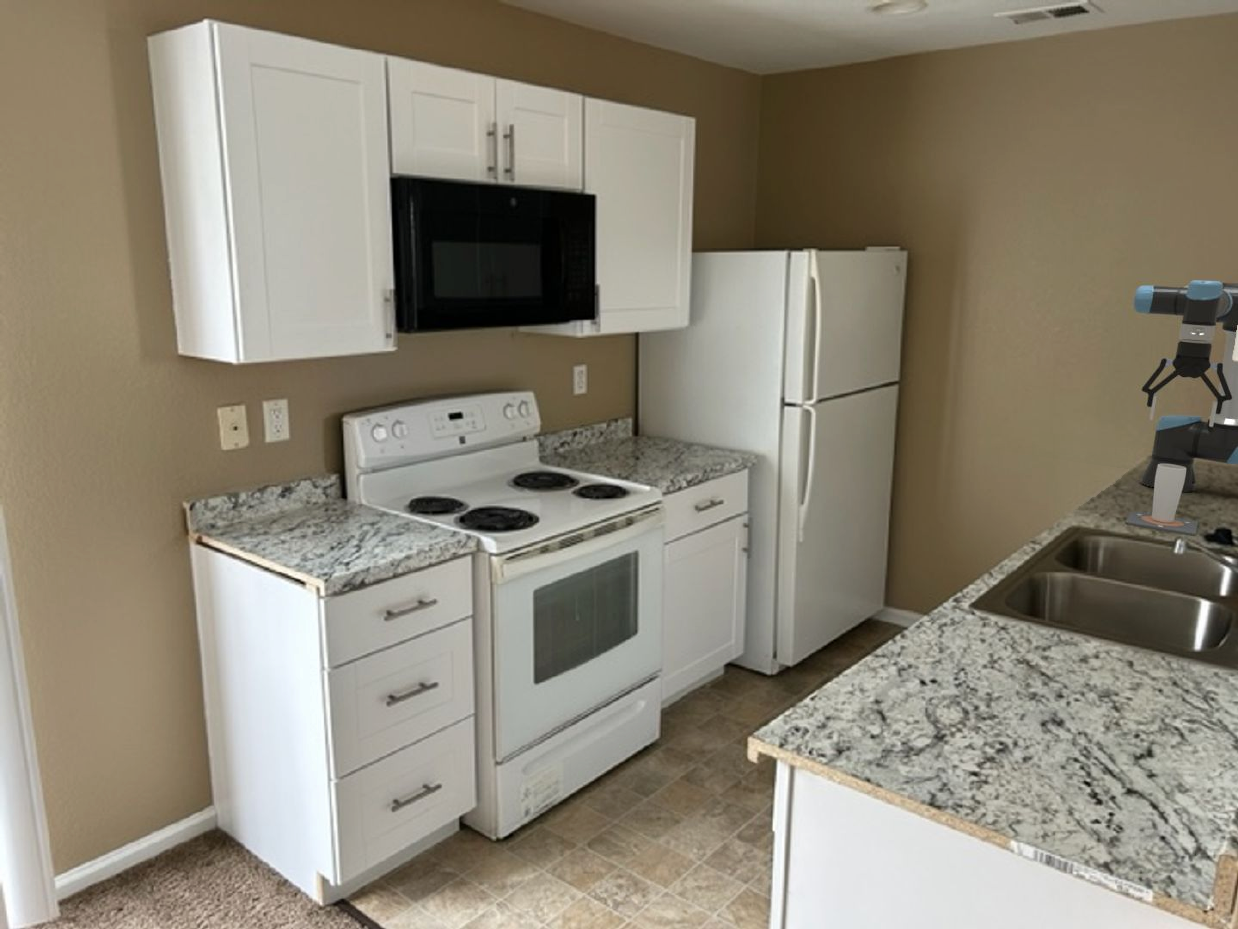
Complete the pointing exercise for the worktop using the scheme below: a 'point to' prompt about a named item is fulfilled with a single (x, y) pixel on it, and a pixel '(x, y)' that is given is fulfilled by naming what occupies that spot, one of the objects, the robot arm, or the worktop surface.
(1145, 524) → the coaster mat
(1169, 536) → the worktop surface
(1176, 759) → the worktop surface
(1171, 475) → the drinking glass
